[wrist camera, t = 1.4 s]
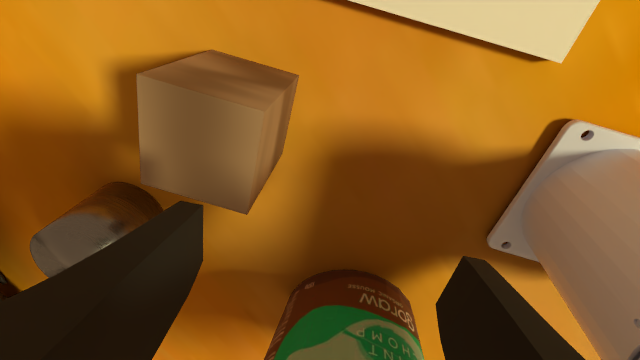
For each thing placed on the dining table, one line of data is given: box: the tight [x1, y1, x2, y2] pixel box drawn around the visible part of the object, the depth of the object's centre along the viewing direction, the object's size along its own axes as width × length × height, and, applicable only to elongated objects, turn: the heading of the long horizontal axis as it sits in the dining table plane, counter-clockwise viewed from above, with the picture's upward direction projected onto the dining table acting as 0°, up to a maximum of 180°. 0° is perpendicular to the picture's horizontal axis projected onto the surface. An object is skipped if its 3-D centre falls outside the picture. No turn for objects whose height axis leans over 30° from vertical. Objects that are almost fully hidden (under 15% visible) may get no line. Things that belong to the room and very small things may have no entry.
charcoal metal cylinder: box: [30, 182, 163, 278], centre depth 20 cm, size 5×5×5 cm
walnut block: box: [136, 50, 299, 215], centre depth 15 cm, size 4×4×6 cm
